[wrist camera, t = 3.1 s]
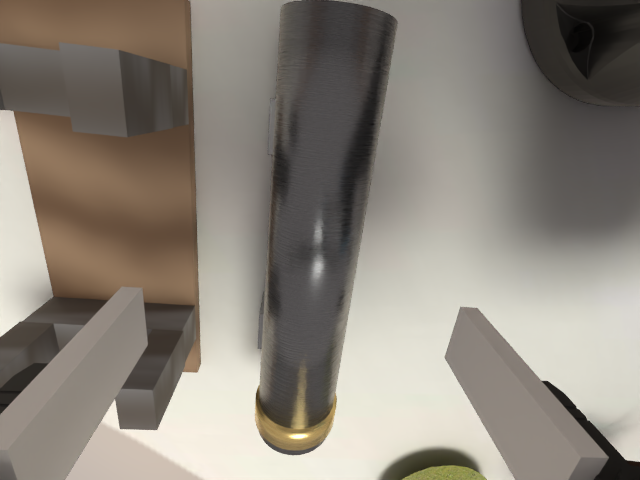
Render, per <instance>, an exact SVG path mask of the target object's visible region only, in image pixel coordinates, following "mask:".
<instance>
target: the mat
mask: <svg viewBox="0 0 640 480" xmlns="http://www.w3.org/2000/svg"><path fill="white" fill-rule="evenodd" d="M402 480H487V479H485V477H484V476H483V475H482V474H480V473H479V472H477V471H474V470H473V469H470V468H468V467H461V466H455V465H450V466H445V465H444V466H437V467H430V468H426V469H424V470H421V471H418V472H415V473H413V474H411V475H410V476H407V477H405V478H403V479H402Z"/></svg>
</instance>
